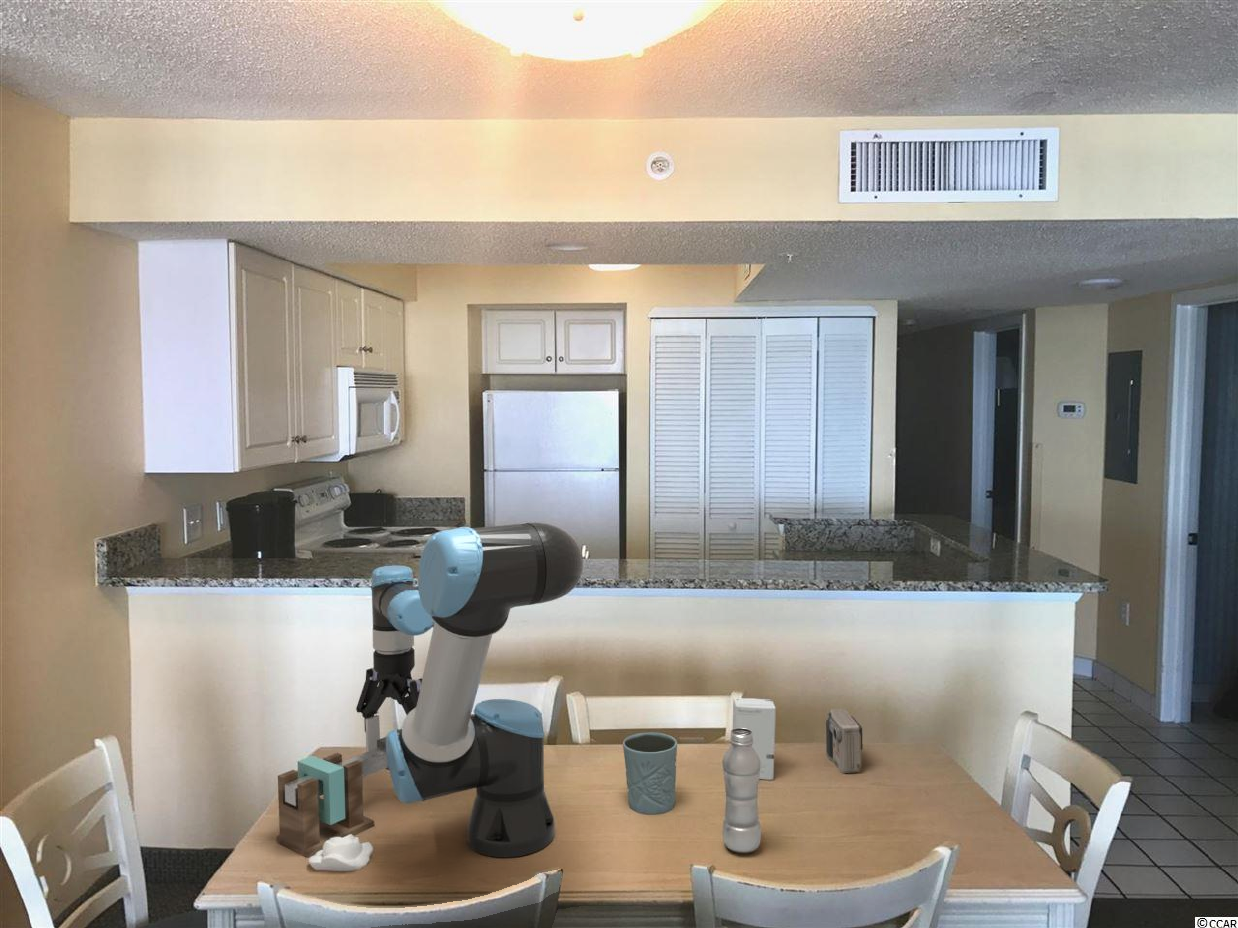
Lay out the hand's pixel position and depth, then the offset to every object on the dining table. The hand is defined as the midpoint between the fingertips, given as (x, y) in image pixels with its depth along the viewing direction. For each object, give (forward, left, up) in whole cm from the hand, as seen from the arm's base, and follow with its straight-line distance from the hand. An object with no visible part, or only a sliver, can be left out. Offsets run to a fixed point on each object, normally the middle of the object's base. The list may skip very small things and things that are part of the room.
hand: (396, 758), depth 164 cm
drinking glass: (-29, -38, -8) cm, 49 cm away
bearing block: (-6, +16, -8) cm, 19 cm away
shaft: (-4, +9, -1) cm, 10 cm away
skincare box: (-30, -63, -8) cm, 71 cm away
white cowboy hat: (-16, +15, -9) cm, 24 cm away
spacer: (-6, +16, -4) cm, 17 cm away
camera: (-37, -82, -8) cm, 91 cm away
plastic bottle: (-51, -41, -8) cm, 66 cm away
